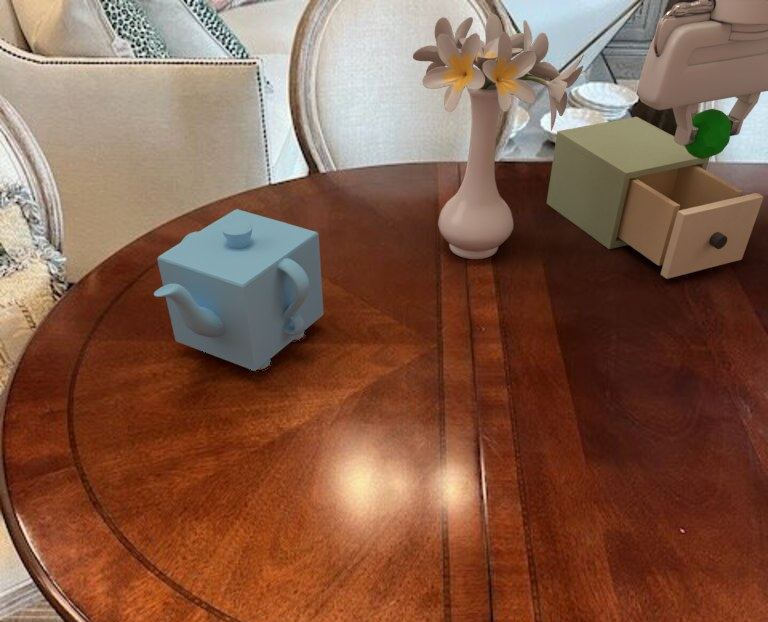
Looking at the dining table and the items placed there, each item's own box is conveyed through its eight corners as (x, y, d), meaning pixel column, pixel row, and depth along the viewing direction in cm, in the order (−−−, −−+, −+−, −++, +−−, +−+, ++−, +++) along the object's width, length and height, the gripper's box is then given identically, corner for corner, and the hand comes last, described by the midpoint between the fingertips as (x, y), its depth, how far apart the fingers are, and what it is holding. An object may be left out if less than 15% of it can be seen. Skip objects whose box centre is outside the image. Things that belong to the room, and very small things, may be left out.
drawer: (749, 264, 94) (771, 200, 89) (673, 284, 91) (691, 219, 86) (670, 214, 104) (686, 154, 98) (599, 230, 101) (611, 169, 95)
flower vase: (548, 281, 93) (587, 45, 76) (397, 263, 96) (400, 33, 78) (556, 231, 102) (592, 10, 84) (417, 217, 105) (424, 0, 87)
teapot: (231, 295, 91) (214, 185, 82) (344, 334, 85) (339, 220, 76) (121, 374, 80) (87, 257, 71) (241, 423, 75) (221, 303, 65)
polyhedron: (701, 168, 87) (714, 122, 83) (669, 153, 90) (680, 108, 86) (733, 159, 88) (747, 114, 85) (700, 144, 91) (712, 100, 88)
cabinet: (688, 230, 103) (710, 155, 96) (609, 249, 99) (625, 173, 92) (621, 187, 112) (636, 116, 105) (546, 203, 108) (557, 131, 101)
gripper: (684, 13, 73) (648, 164, 83) (847, -9, 79) (795, 134, 89) (642, -3, 77) (613, 143, 87) (800, -23, 83) (755, 116, 93)
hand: (706, 138), depth 88 cm, fingers closed on polyhedron, 5 cm apart
